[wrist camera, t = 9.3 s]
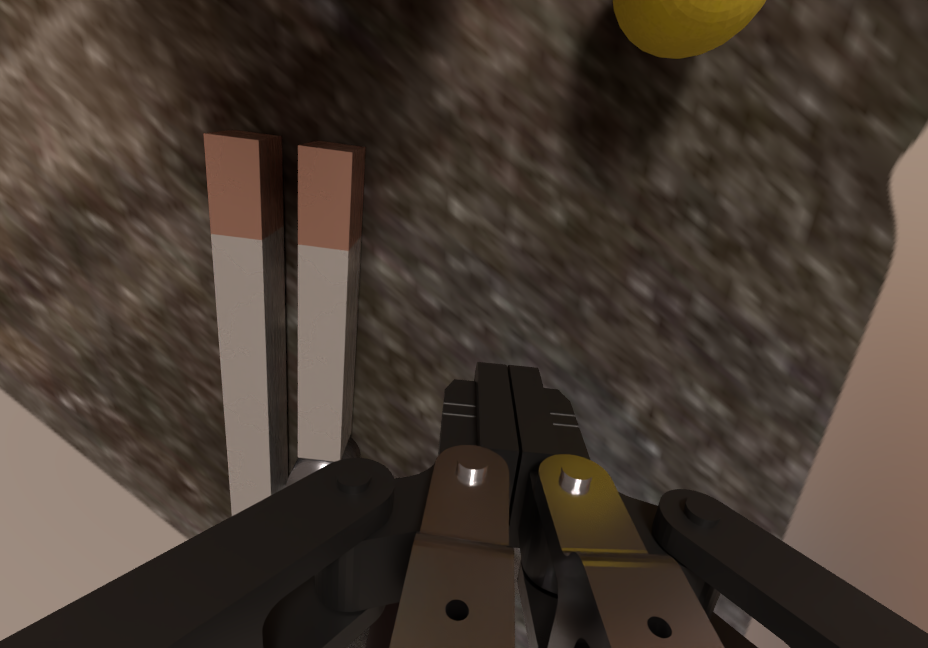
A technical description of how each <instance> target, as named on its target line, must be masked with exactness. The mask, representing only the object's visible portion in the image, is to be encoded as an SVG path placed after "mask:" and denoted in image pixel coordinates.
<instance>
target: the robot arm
mask: <svg viewBox="0 0 928 648" xmlns="http://www.w3.org/2000/svg"><path fill="white" fill-rule="evenodd" d="M574 415H575V414H574V411H573V408H572V405H571V402H570V401H569V400H568V399H567V398H566V397H565V396H564V395H563V394H562V393H561V392H560V391H559V390H558V389H548V388H543V384H542V380H541V376H540V373H539V369H538V368H534V367H524V366H514V365H508V367H507V365H503V364H493V363H483V362H477V365H476V371H475V379H474V381H466V380H455V379H454V380H453V381H452V383H451V384H450V385H449V386H448V387H447V388H446V389H445V394H444V403H443V413H442V422H441V432H440V441H439V452H438V457H437V459H436V461H435V463H434V465H433V466H432V467H430V468H429V469H428V470H426V471H424V472H422V473H420V474H417V475H414V476H410V477H404V478H397V479H394V477H393V475H392V473H391V472H390V471H389V469H388V468H386V467H385V466H384V465H382V464H380V463H379V462H376V461H373V460H370V459H364V458H347V459H342V460H338V461H335V462H333V463H330V464H328V465H326V466H325V467H323V468H321V469H319V470H317V471H315V472H313V473H312V474H310V475H308V476H306V477H304V478H302V479H300V480H299V481H297V482H295V483H293V484H291V485H289V486H287V487H286V488H284V489H282V490H280V491H278V492H276V493H274V494H273V495H271V496H269V497H267V498H265V499H263V500H261V501H260V502H258V503H256V504H254V505H252V506H250V507H248V508H247V509H245V510H243V511H241V512H239V513H237V514H235V515H234V516H232V517H230V518H228V519H226V520H224V521H222V522H221V523H219V524H217V525H215V526H213V527H211V528H209V529H208V530H206V531H204V532H202V533H200V534H198V535H196V536H195V537H193V538H191V539H189V540H187V541H185V542H184V543H182V544H180V545H178V546H176V547H174V548H172V549H170V550H169V551H167V552H165V553H163V554H161V555H159V556H157V557H156V558H154V559H152V560H150V561H148V562H146V563H145V564H143V565H141V566H139V567H137V568H135V569H133V570H132V571H130V572H128V573H126V574H124V575H122V576H121V577H118V578H117V579H115V580H113V581H111V582H109V583H107V584H106V585H104V586H102V587H100V588H98V589H96V590H94V591H92V592H91V593H89V594H87V595H85V596H83V597H81V598H80V599H78V600H76V601H74V602H72V603H70V604H68V605H67V606H65V607H63V608H61V609H59V610H57V611H55V612H53V613H52V614H50V615H48V616H46V617H44V618H42V619H40V620H39V621H37V622H35V623H33V624H31V625H29V626H27V627H26V628H24V629H22V630H20V631H18V632H16V633H15V634H13V635H11V636H9V637H7V638H5V639H3V640H2V641H0V648H346V647H347V646H348V645H349V644H351V643H352V642H353V641H354V640H355V639H356V638H357V637H358V636H360V635H361V634H362V633H363V632H364V631H365V630H366V629H367V628H369V627H370V626H371V625H372V624H373V623H374V622H375V621H376V620H377V619H378V618H379V617H380V616H381V614H382V613H383V611H384V608H385V606H386V605H388V604H392V603H397V602H400V603H399V608H398V612H397V617H396V621H395V625H394V630H393V634H392V638H391V643H390V647H389V648H515V579H514V548H513V547H515V548H520V553H521V561H520V567H519V572H518V578H517V582H518V589H519V594H520V599H521V605H522V610H523V615H524V621H525V626H526V631H527V637H528V642H529V647H530V648H757V647H756V646H755V645H754V644H753V643H751V642H750V641H749V640H747V639H746V638H745V637H744V636H743V635H741V634H740V633H739V632H738V631H736V630H735V629H734V628H733V627H731V626H730V625H729V624H728V623H726V622H725V621H724V620H723V619H721V618H720V617H719V616H718V615H716V614H715V613H714V612H713V611H714V608H715V606H716V603H717V601H718V599H719V596H720V594H723V595H724V596H725V597H727V598H728V599H729V600H730V601H732V602H733V603H734V604H736V605H737V606H738V607H740V608H741V609H742V610H744V611H745V612H746V613H747V614H749V615H750V616H751V617H753V618H754V619H755V620H757V621H758V622H759V623H761V624H762V625H763V626H764V627H766V628H767V629H768V630H770V631H771V632H772V633H774V634H775V635H776V636H778V637H779V638H780V639H782V640H783V641H784V642H785V643H786V644H787V645H789V647H790V648H928V633H926V632H924V631H923V630H921V629H920V628H918V627H917V626H915V625H913V624H912V623H910V622H909V621H907V620H906V619H904V618H903V617H901V616H899V615H898V614H896V613H895V612H893V611H892V610H890V609H888V608H887V607H885V606H884V605H882V604H881V603H879V602H877V601H876V600H874V599H873V598H871V597H869V596H868V595H866V594H865V593H863V592H862V591H860V590H858V589H857V588H855V587H854V586H852V585H851V584H849V583H847V582H846V581H844V580H843V579H841V578H839V577H838V576H836V575H835V574H833V573H832V572H830V571H828V570H827V569H825V568H824V567H822V566H821V565H819V564H817V563H816V562H814V561H813V560H811V559H809V558H808V557H806V556H805V555H803V554H802V553H800V552H799V551H797V550H795V549H794V548H792V547H791V546H789V545H787V544H786V543H784V542H783V541H781V540H780V539H778V538H776V537H775V536H773V535H772V534H770V533H769V532H767V531H765V530H764V529H762V528H761V527H759V526H758V525H756V524H754V523H753V522H751V521H750V520H748V519H746V518H745V517H743V516H742V515H740V514H739V513H737V512H735V511H734V510H732V509H731V508H729V507H728V506H726V505H724V504H723V503H721V502H720V501H718V500H716V499H714V498H712V497H710V496H708V495H706V494H703V493H700V492H697V491H692V490H686V489H676V490H671V491H668V492H666V493H665V494H664V495H663V496H662V497H661V499H660V502H659V505H658V506H656V505H653V504H650V503H647V502H644V501H640V500H637V499H634V498H631V497H628V496H626V495H624V494H621V493H619V492H618V491H617V489H616V487H615V485H614V483H613V481H612V479H611V477H610V476H609V474H608V473H607V472H606V471H605V470H604V469H603V468H602V467H601V466H599V465H598V464H596V463H595V462H593V461H591V460H590V458H589V455H588V452H587V449H586V446H585V443H584V440H583V437H582V434H581V432H580V429H579V428H578V423H577V420H576V417H574Z"/></svg>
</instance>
